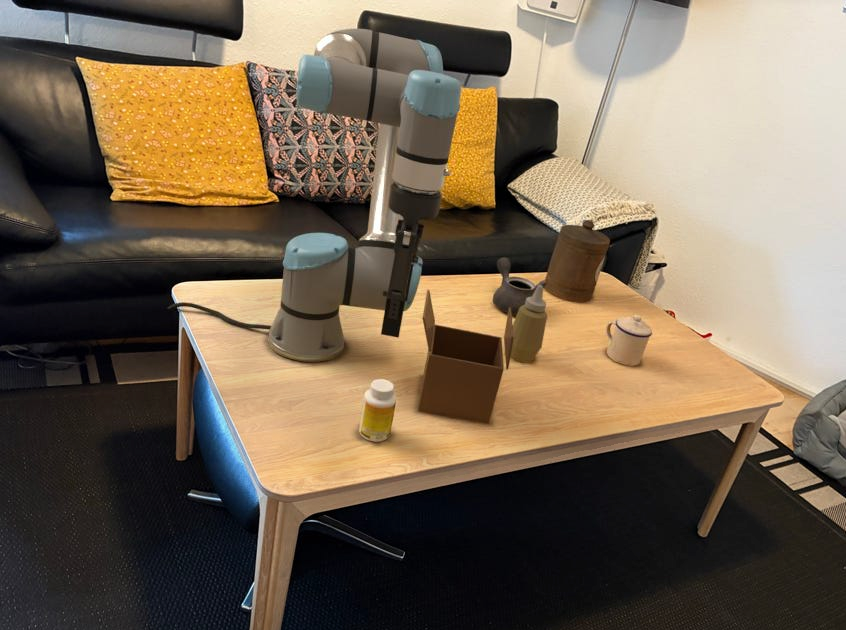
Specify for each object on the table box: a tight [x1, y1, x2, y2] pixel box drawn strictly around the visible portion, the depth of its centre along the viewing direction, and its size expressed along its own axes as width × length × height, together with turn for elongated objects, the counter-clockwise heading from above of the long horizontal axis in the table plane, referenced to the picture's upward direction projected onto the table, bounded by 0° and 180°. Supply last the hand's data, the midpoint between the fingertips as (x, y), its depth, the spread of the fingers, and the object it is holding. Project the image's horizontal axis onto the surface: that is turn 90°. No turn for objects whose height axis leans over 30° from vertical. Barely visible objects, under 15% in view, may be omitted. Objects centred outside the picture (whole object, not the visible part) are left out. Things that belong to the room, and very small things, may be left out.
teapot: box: [492, 257, 547, 316], centre depth 181 cm, size 19×15×10 cm
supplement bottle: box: [358, 378, 397, 443], centre depth 117 cm, size 6×6×10 cm
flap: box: [421, 289, 436, 352], centre depth 126 cm, size 7×13×1 cm
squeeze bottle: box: [510, 285, 548, 363], centre depth 153 cm, size 8×8×18 cm
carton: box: [417, 307, 514, 425], centre depth 130 cm, size 15×13×19 cm
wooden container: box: [544, 219, 611, 303], centre depth 195 cm, size 15×15×22 cm
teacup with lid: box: [605, 314, 653, 367], centre depth 167 cm, size 12×9×12 cm
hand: (394, 316), depth 108 cm, fingers open, 13 cm apart
